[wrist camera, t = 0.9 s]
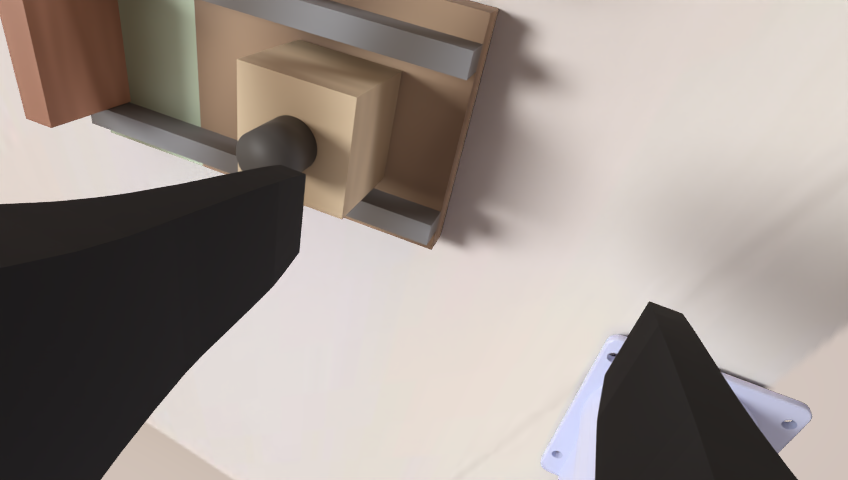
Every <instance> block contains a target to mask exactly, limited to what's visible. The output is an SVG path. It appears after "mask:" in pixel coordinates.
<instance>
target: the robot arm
mask: <svg viewBox="0 0 848 480" xmlns="http://www.w3.org/2000/svg"><path fill="white" fill-rule="evenodd" d="M305 182H306V174H304V173H302V172H299V171H296V170H294V169H291V168H288V167H286V166H283V165H273V166H266V167H260V168H255V169H249V170H245V171H240V172H235V173H230V174H226V175H221V176H216V177H212V178H207V179H202V180H198V181H193V182H188V183H183V184H178V185H172V186H166V187H161V188H155V189H150V190H144V191H138V192H133V193H126V194H120V195H112V196H105V197H97V198H87V199H77V200H67V201H55V202H38V203H16V204H0V480H101V479H102V477H103V475H104V474H105V473H106V472H107V470H108V469H109V468H110V466H111V465H112V464H113V462H114V461H115V460H116V458H117V457H118V456H119V454H120V453H121V452H122V450H123V449H124V448H125V447H126V445H127V444H128V443H129V442H130V440H131V439H132V438H133V436H134V435H135V434H136V433H137V432H138V430H139V429H140V428H141V426H142V425H143V424H144V423H145V421H146V420H147V419H148V418H149V416H150V415H151V414H152V413H153V411H154V410H155V409H156V408H157V406H158V405H159V404H160V403H161V402H162V401H163V399H164V398H165V397H166V396H167V395H168V393H169V392H170V391H171V390H172V389H173V387H174V386H175V385H176V384H177V383H178V381H179V380H180V379H181V378H182V377H183V375H184V374H185V373H186V372H187V371H188V370H189V369H190V368H191V367H192V366H193V365H194V364H195V363H196V361H197V360H198V359H199V358H200V357H201V356H202V355H203V354H204V353H205V352H206V351H207V350H208V349H209V348H210V347H212V346H213V345H214V344H215V343H216V342H217V341H218V340H219V339H220V338H221V337H222V336H223V335H224V334H225V333H226V332H227V331H228V330H229V329H230V328H231V327H232V326H233V325H234V324H235V323H236V322H237V321H238V320H239V319H241V318H242V317H243V316H244V315H245V314H246V313H247V312H248V311H249V310H250V309H251V308H252V307H253V306H254V305H255V304H256V303H257V302H258V301H259V300H260V299H261V298H262V297H263V296H264V295H265V294H266V293H267V292H268V291H269V290H270V289H271V288H272V287H273V286H274V285H275V283H276V282H277V281H278V280H279V278H280V277H281V276H282V275H283V273H284V272H285V271H286V269H287V268H288V267H289V265H290V264H291V263H292V261H293V260H294V259H295V257H296V256H297V255H298V253H299V249H300V238H301V227H302V215H303V204H304V193H305ZM609 353H616V354H617V355H616V356H611V355H609ZM811 419H812V414H811V411H810V408H809V407H808V406H807V405H806V404H805V403H802V402H800V401H798V400H795V399H792V398H790V397H787V396H784V395H782V394H779V393H776V392H774V391H771V390H768V389H765V388H763V387H760V386H757V385H755V384H752V383H749V382H747V381H744V380H741V379H739V378H736V377H733V376H731V375H728V374H725V373H722V372H720V370H719V369H718V367H717V365H716V364H715V362H714V361H713V359H712V358H711V356H710V354H709V353H708V351H707V350H706V348H705V347H704V345H703V343H702V342H701V340H700V339H699V337H698V336H697V334H696V333H695V331H694V330H693V328H692V326H691V325H690V324H689V322H688V321H687V319H686V318H685V317H684V315H683V314H682V313H679V312H677V311H674V310H671V309H668V308H666V307H663V306H660V305H658V304H655V303H652V302H650V301H649V303H648V304H647V306H646V308H645V309H644V311H643V312H642V314H641V316H640V317H639V319H638V321H637V322H636V324H635V326H634V327H633V329H632V331H631V332H630V334H629V335H628V337H626V336H623V335H612V336H610V337H609V338H608V339H607V340H606V342H605V344H604V345H603V347H602V349H601V351H600V353H599V354H598V356H597V358H596V360H595V362H594V363H593V365H592V367H591V369H590V371H589V372H588V374H587V376H586V378H585V380H584V381H583V383H582V385H581V387H580V389H579V390H578V392H577V394H576V396H575V398H574V399H573V401H572V403H571V405H570V407H569V408H568V410H567V412H566V414H565V416H564V417H563V419H562V421H561V423H560V425H559V426H558V428H557V430H556V432H555V434H554V435H553V437H552V439H551V441H550V443H549V444H548V446H547V448H546V450H545V452H544V453H543V455H542V458H541V466H542V467H543V468H544V469H545V470H546V471H548V472H551V473H553V474H555V475H558V480H798V479H797V478H796V477H795V476H794V474H793V473H792V472H791V471H790V469H789V468H788V467H787V466H786V464H785V463H784V462H783V460H782V459H781V457H780V456H779V455H778V453H779V452H780V451H781V450H782V449H783V448H784V447H785V446H786V445H787V444H788V443H789V441H791V440H792V439H793V438H794V437H795V436H796V435H797V434H798V433H799V432H800V431H801V430H802V429H803V428H804V427H805V425H806V424H808V423H809V422H810V420H811ZM785 420H793V421H791V422H784V421H785ZM557 451H559V452H557Z"/></svg>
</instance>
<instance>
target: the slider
mask: <svg viewBox="0 0 848 480" xmlns="http://www.w3.org/2000/svg"><path fill="white" fill-rule="evenodd" d="M401 74H402V71H401V70H397V69H394V68H391V67H388V66H384V65H381V64H378V63H374V62H371V61H368V60H365V59H361V58H358V57H355V56H352V55H348V54H345V53H342V52H338V51H335V50H332V49H329V48H325V47H322V46H319V45H316V44H312V43H309V42H306V41H302V40H296V41H293V42H290V43H287V44H283V45H280V46H277V47H274V48H271V49H267V50H264V51H261V52H258V53H255V54H251V55H248V56H245V57H242V58H238V59H237V138H238V142H237V145H236V158H237V161H238V172H240V171H245V170H249V169H255V168H260V167H266V166H273V165H283V166H286V167H288V168H291V169H294V170H296V171H299V172H302V173H304V174H306V182H305V193H304V204H303V205H304V206H307V207H310V208H313V209H315V210H318V211H321V212H323V213H326V214H329V215H332V216H334V217H337V218H340V219H343V218H344V217H345V216H346V215H347V214H348V213H349V212H350V211H351V210H352V209H353V208H354V207H355V206H356V205H357V204H358V203H359V202H360V201H361V200H362V199H363V198H364V197H365V196H366V195H367V194H368V193H369V192H370V191H371V190H372V189H373V188H374V187H375V186H376V185H377V184H378V183H379V182H380V181H381V180H382V179H383V178H384V175H385V169H386V163H387V157H388V151H389V145H390V139H391V133H392V127H393V122H394V116H395V110H396V104H397V98H398V92H399V86H400V80H401Z"/></svg>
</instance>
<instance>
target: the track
mask: <svg viewBox="0 0 848 480" xmlns="http://www.w3.org/2000/svg"><path fill="white" fill-rule="evenodd" d="M498 10H499V9H498V8H495V7H491V6H487V5H484V4H480V3H476V2H473V1H469V0H0V17H1V21H2V25H3V29H4V33H5V37H6V41H7V45H8V49H9V53H10V56H11V60H12V64H13V68H14V72H15V76H16V80H17V84H18V88H19V92H20V96H21V100H22V104H23V108H24V112H25V116H26V119H29V120H32V121H34V122H37V123H40V124H42V125H45V126H48V127H50V128H53V127H56V126H59V125H62V124H65V123H68V122H71V121H74V120H77V119H80V118H83V117H86V116H89V115H91V117H92V123H93V124H96V125H99V126H102V127H104V128H107V129H110V130H111V132H112V133H115V134H117V135H120V136H123V137H126V138H128V139H131V140H134V141H137V142H139V143H142V144H145V145H147V146H150V147H153V148H156V149H158V150H161V151H164V152H167V153H169V154H172V155H175V156H177V157H180V158H183V159H186V160H188V161H191V162H194V163H197V164H199V165H202V166H205V167H207V168H210V169H213V170H216V171H218V172H221V173H224V174H230V173H235V172H238V161H237V158H236V145H237V142H238V138H237V59H238V58H242V57H245V56H248V55H251V54H255V53H258V52H261V51H264V50H267V49H271V48H274V47H277V46H280V45H283V44H287V43H290V42H293V41H296V40H302V41H306V42H309V43H312V44H316V45H319V46H322V47H325V48H329V49H332V50H335V51H338V52H342V53H345V54H348V55H352V56H355V57H358V58H361V59H365V60H368V61H371V62H374V63H378V64H381V65H384V66H388V67H391V68H394V69H397V70H401V71H402V74H401V80H400V86H399V92H398V98H397V104H396V110H395V116H394V122H393V127H392V133H391V139H390V145H389V151H388V157H387V163H386V169H385V175H384V178H383V179H382V180H381V181H380V182H379V183H378V184H377V185H376V186H375V187H374V188H373V189H372V190H371V191H370V192H369V193H368V194H367V195H366V196H365V197H364V198H363V199H362V200H361V201H360V202H359V203H358V204H357V205H356V206H355V207H354V208H353V209H352V210H351V211H350V212H349V213H348V214H347V215H346V216H345V217H344V218H346V219H349V220H352V221H355V222H357V223H360V224H363V225H366V226H368V227H371V228H374V229H376V230H379V231H382V232H385V233H387V234H390V235H393V236H396V237H398V238H401V239H404V240H406V241H409V242H412V243H415V244H417V245H420V246H423V247H425V248H428V249H431V250H432V248H433V246H434V245H435V243H436V242H437V240H438V239H439V237H440V235H441V231H442V227H443V223H444V219H445V215H446V211H447V208H448V204H449V200H450V196H451V192H452V188H453V184H454V180H455V176H456V173H457V169H458V165H459V161H460V157H461V153H462V149H463V145H464V142H465V138H466V134H467V130H468V126H469V122H470V118H471V114H472V111H473V107H474V103H475V99H476V95H477V91H478V87H479V83H480V80H481V76H482V72H483V68H484V64H485V60H486V56H487V52H488V48H489V45H490V41H491V37H492V33H493V29H494V25H495V21H496V17H497V14H498Z"/></svg>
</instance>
